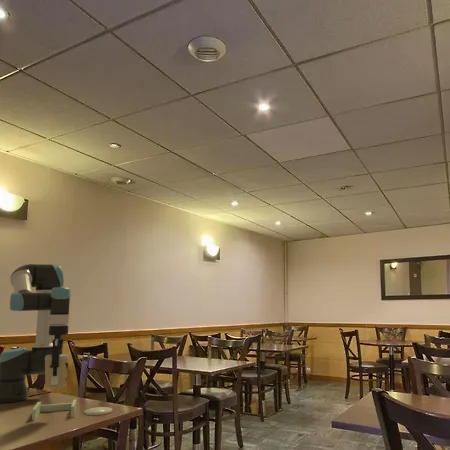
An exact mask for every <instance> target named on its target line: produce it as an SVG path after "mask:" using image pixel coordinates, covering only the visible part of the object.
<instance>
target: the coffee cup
mask: <svg viewBox="0 0 450 450" xmlns="http://www.w3.org/2000/svg"><path fill="white" fill-rule="evenodd" d="M69 360H70V356H69V354H68V353H67V354H66V353H62V354H61V355H60V356H59V378H58V384H57V385H51V370H52V368H50V366H51V364H52V355H47V356H46V357H45V374H44V385H45V388H48V389H56V388H63V387H65V386H66V384H67V379H68V378H67V377H68V369H69Z"/></svg>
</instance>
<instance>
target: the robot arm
mask: <svg viewBox="0 0 450 450" xmlns="http://www.w3.org/2000/svg"><path fill="white" fill-rule="evenodd" d="M64 279H65V278H64V271H63V268H62V266H61V265H58V264H45V263H43V264H39V263H38V264H37V263H36V264H33V263H29V264H24V265H21V266H19V267H17V268H16V269H15V270H14V271H13V272H12V273H11V275H10V285H11V286H12V287H13V292H12V293H11V294H10V298H9V311H13V312H14V311H16V312H25V311H26V312H27V311H28V312H29V311H30V312H31V311H32V312H33V311H37V314H36V331H35V343H34V344H33V345H31V350H29V349H28V348H27V347H19V348H18V347H17V348H13V349H11V348H10V349H8V350H5V351H2V352H1V354H0V404H2V403H4V404H5V403H16V402H20V401H26V400H27V399H28V398H29V392H28V388H27V383H26V376H34V375H45V357H46V356H47V355H52V364H51V366H50V368H52V370H51V385H57V384H58V378H59V356H60V355H61V354H63V348H64V338H63V336H67V335H68V334H69V324H70V303H71V302H70V301H71V289H70V287H64V281H65V280H64ZM33 288H35V292H34V291H33Z"/></svg>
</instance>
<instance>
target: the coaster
mask: <svg viewBox="0 0 450 450" xmlns="http://www.w3.org/2000/svg"><path fill="white" fill-rule="evenodd" d="M111 413H113V408H112V407H107V406H98V407H91V408H88V409H85V410H84V415H87V416H105V415H108V414H111Z"/></svg>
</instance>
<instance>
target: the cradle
mask: <svg viewBox="0 0 450 450" xmlns="http://www.w3.org/2000/svg"><path fill="white" fill-rule="evenodd" d="M77 401H78V400H77V399H73V400H72V402H67V403H66V402H65V403H52V404H42V402H41V401H37V402H36V404H35V405H34V406H33V408H32V411H31V412H32V413H31V421H36V420H37V418H38V416H39V415H40V413H45V412H58V411H59V412H60V411H61V412H62V411H70V418H74V417H75V414H76V412H75V411H77Z"/></svg>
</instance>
